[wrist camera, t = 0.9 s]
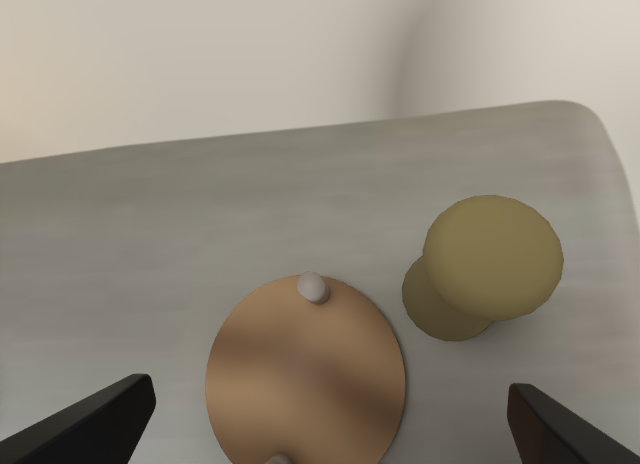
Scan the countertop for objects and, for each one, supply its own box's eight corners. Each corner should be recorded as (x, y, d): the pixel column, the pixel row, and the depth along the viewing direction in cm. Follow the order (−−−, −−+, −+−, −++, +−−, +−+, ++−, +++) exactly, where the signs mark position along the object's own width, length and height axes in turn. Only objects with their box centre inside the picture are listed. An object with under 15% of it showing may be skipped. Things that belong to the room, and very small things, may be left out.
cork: (383, 294, 23) (383, 246, 13) (442, 234, 24) (485, 145, 14) (454, 362, 21) (520, 367, 11) (516, 294, 22) (633, 240, 12)
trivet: (387, 523, 19) (389, 564, 15) (186, 455, 22) (147, 475, 18) (416, 296, 23) (423, 284, 19) (242, 264, 26) (219, 249, 22)
